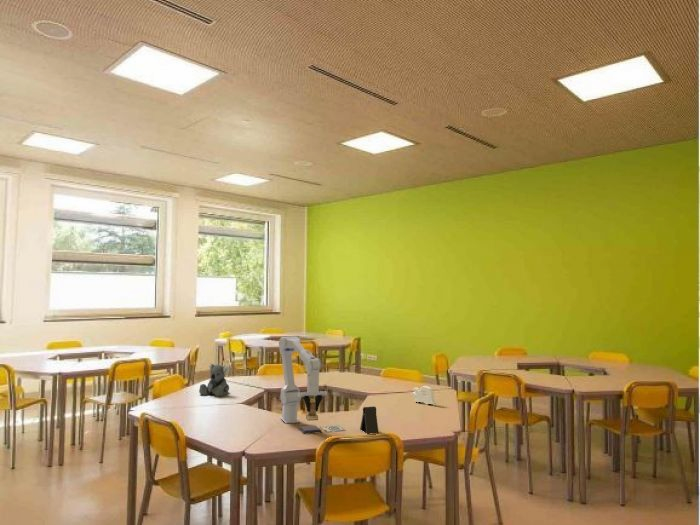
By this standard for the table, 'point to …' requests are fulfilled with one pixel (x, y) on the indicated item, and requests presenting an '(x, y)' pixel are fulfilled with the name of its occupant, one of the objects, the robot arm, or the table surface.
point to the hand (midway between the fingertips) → (312, 411)
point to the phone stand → (369, 420)
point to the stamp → (312, 412)
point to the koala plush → (216, 381)
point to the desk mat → (334, 428)
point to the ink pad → (309, 429)
